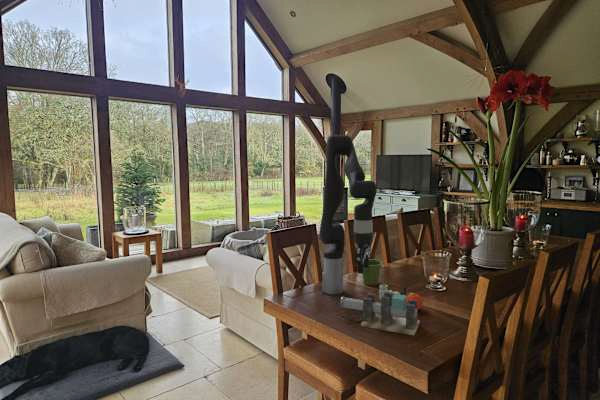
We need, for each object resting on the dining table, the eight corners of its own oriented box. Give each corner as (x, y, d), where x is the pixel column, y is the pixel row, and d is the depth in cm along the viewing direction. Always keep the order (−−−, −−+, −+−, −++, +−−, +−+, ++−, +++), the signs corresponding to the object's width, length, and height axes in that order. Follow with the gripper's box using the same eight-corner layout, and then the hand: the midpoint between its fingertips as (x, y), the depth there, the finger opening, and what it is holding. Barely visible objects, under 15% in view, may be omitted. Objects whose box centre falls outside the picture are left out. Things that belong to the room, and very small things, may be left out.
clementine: (400, 308, 167) (400, 292, 167) (410, 304, 171) (410, 288, 171) (415, 314, 161) (416, 297, 160) (425, 309, 165) (426, 293, 164)
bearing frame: (360, 325, 151) (360, 297, 149) (369, 314, 161) (369, 287, 160) (414, 335, 142) (414, 304, 141) (419, 322, 152) (420, 294, 151)
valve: (378, 301, 176) (405, 304, 172) (378, 287, 175) (405, 289, 172) (379, 296, 182) (406, 299, 179) (379, 282, 181) (406, 285, 178)
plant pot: (367, 278, 209) (367, 258, 208) (386, 283, 201) (387, 261, 200) (354, 283, 201) (354, 262, 200) (374, 289, 193) (374, 266, 191)
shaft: (340, 308, 158) (339, 298, 158) (343, 305, 162) (343, 294, 162) (414, 321, 145) (414, 309, 144) (416, 316, 149) (417, 305, 148)
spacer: (391, 308, 148) (391, 298, 148) (394, 303, 153) (394, 293, 152) (403, 310, 146) (403, 299, 146) (406, 305, 151) (406, 295, 150)
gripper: (359, 227, 164) (359, 265, 166) (348, 233, 151) (349, 274, 153) (376, 228, 161) (376, 266, 162) (367, 234, 148) (367, 276, 150)
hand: (363, 270), depth 158 cm, fingers open, 8 cm apart
